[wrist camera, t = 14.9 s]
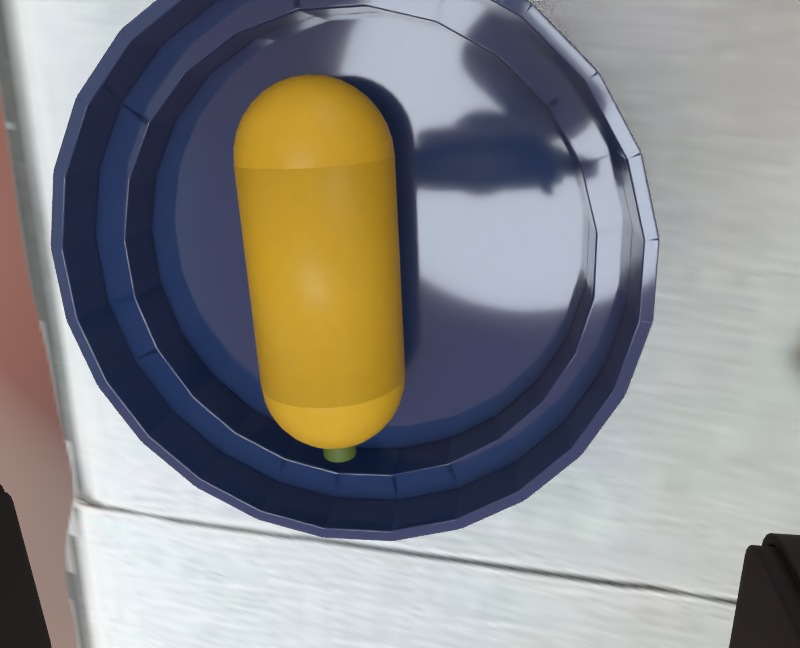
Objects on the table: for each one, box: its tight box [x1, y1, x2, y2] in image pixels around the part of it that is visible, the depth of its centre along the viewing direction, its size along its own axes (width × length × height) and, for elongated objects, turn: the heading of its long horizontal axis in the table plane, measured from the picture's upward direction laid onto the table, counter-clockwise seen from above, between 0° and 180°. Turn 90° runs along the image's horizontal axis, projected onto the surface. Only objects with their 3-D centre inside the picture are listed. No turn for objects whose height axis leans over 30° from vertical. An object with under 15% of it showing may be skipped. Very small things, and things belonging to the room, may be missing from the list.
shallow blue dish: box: [51, 0, 659, 541], centre depth 27 cm, size 22×22×5 cm
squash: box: [233, 74, 405, 462], centre depth 27 cm, size 15×6×6 cm, turn 3°
